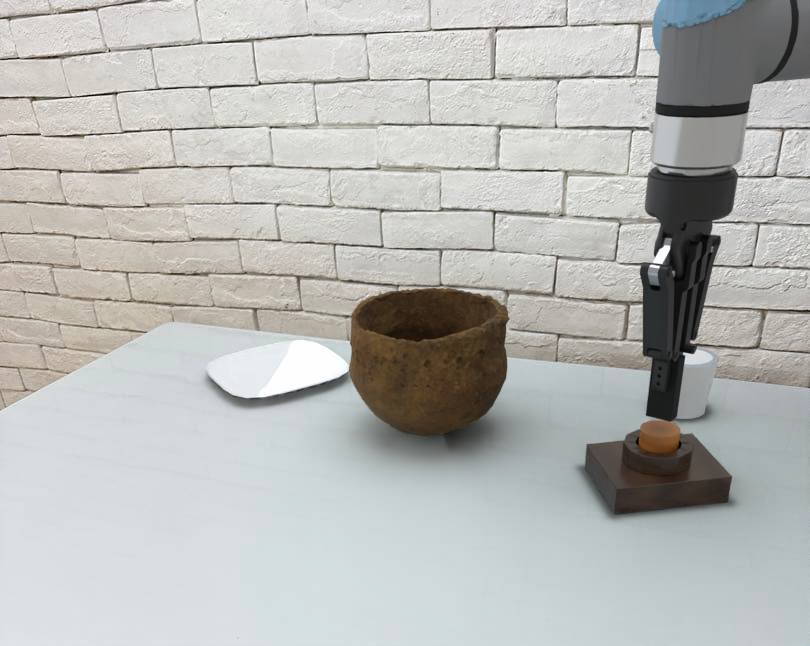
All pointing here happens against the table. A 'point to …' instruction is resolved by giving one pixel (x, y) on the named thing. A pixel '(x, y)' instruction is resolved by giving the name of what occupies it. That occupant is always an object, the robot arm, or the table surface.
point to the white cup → (696, 383)
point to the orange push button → (659, 436)
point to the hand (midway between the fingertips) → (661, 415)
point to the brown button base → (656, 475)
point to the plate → (276, 369)
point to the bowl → (429, 357)
